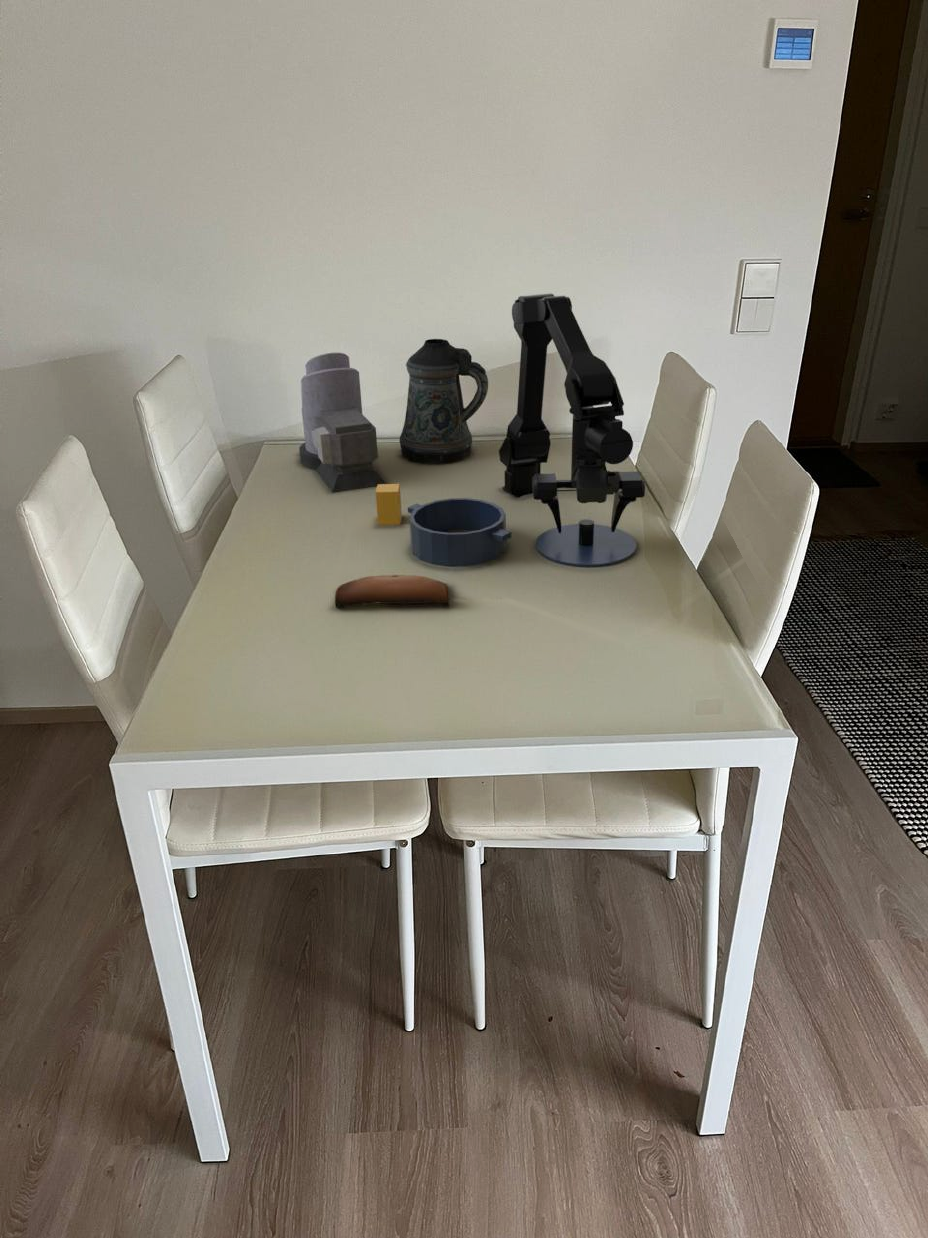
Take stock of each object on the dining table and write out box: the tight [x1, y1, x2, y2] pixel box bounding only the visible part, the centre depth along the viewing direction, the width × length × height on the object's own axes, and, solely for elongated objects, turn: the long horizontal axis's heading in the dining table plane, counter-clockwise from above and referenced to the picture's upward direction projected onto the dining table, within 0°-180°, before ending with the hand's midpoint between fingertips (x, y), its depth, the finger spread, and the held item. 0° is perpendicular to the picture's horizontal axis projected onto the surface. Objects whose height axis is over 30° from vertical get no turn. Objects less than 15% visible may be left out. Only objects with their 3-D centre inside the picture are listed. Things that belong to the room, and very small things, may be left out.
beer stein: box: [399, 338, 489, 465], centre depth 212 cm, size 16×19×25 cm
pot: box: [407, 497, 512, 568], centre depth 169 cm, size 17×22×6 cm
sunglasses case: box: [334, 574, 451, 608], centre depth 154 cm, size 18×7×7 cm, turn 90°
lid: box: [535, 518, 638, 568], centre depth 168 cm, size 18×18×5 cm
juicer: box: [298, 352, 388, 493], centre depth 206 cm, size 30×16×24 cm, turn 20°
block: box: [375, 483, 403, 526], centre depth 181 cm, size 4×4×7 cm
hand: (586, 531), depth 168 cm, fingers open, 9 cm apart
